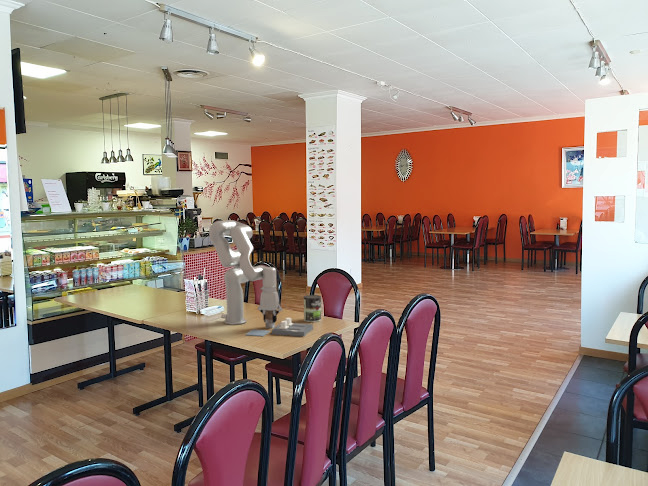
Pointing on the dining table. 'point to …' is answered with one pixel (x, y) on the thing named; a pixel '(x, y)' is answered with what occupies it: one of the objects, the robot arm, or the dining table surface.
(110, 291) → the dining table surface
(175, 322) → the dining table surface
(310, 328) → the switch panel
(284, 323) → the tab
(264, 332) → the mat
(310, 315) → the coffee can
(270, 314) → the brown grey cylinder
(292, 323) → the tab
